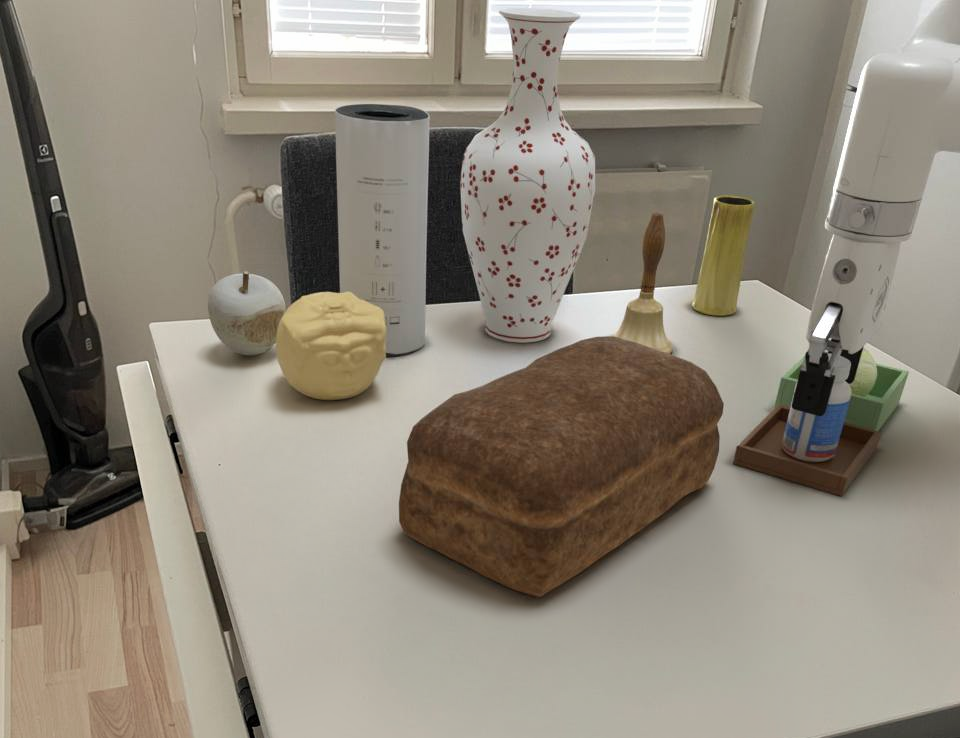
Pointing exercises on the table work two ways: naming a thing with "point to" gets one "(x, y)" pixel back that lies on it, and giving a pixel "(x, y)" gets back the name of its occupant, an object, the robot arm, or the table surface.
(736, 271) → the vase
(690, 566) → the table surface
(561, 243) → the vase
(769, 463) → the walnut tray
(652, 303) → the hand bell
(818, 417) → the pill bottle
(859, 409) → the green bin
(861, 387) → the tennis ball
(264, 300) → the decorative object
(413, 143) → the speaker
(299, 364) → the sculpture
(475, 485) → the bread
